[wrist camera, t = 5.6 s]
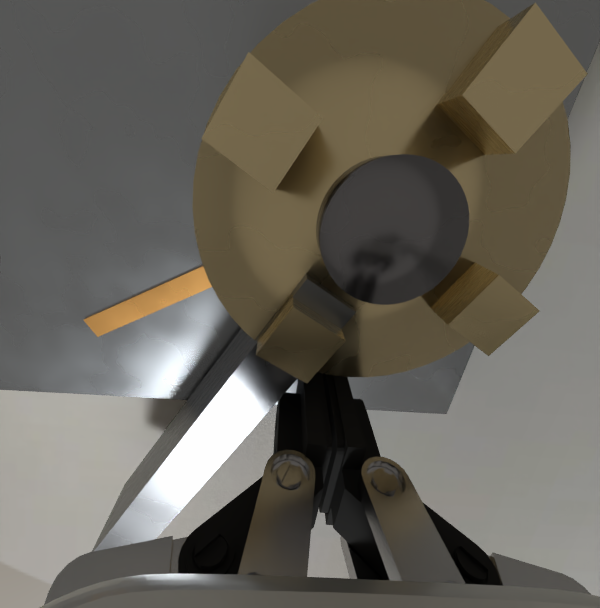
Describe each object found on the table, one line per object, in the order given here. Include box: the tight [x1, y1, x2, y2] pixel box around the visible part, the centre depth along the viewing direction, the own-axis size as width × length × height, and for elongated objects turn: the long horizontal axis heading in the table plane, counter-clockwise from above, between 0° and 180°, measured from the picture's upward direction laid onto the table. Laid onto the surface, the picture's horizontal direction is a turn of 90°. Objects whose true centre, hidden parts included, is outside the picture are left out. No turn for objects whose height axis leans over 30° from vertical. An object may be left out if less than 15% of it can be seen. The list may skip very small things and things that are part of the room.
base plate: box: [0, 0, 600, 414], centre depth 11 cm, size 20×15×2 cm
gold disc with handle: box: [92, 0, 587, 552], centre depth 10 cm, size 9×20×4 cm, turn 144°
